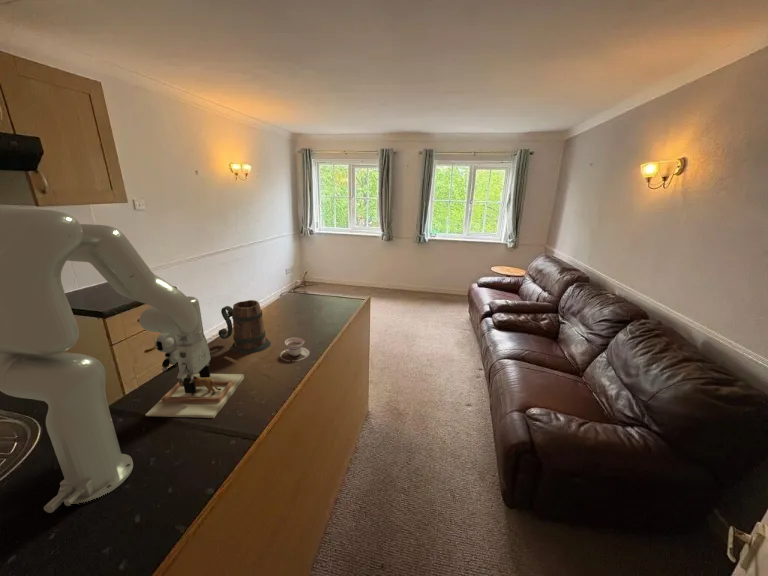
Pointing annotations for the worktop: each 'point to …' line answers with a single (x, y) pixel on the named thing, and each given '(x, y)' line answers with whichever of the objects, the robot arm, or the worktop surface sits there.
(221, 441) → the worktop surface
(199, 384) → the lion figurine
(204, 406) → the base plate
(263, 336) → the tankard
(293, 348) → the teacup
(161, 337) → the robot toy
